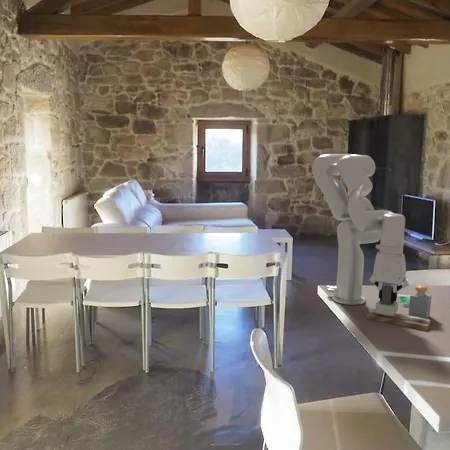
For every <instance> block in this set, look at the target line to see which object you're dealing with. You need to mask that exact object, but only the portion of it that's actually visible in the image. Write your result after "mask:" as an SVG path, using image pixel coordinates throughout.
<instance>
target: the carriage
mask: <svg viewBox="0 0 450 450" xmlns="http://www.w3.org/2000/svg"><path fill="white" fill-rule="evenodd" d="M392 292H393V284H388V283H384V286H383V289H382V302H380V300H378V302H376V304H375V308H374V309H375V313H380V314H385V315H391V316H393V315H394V314H395V313H397V312H398V310H399V302H400V301H397V300H396V301H395V302H394V303H393V304H391V293H392Z"/></svg>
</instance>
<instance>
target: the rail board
mask: <svg viewBox="0 0 450 450" xmlns="http://www.w3.org/2000/svg"><path fill="white" fill-rule="evenodd" d="M375 309H376V308H370V309H369V312H368V313H367V314H366V319H367V320H372V321H378V322H381V323H386V324H392V325H396V326H401V327H402V326H403V327H408V328H413V329H416V330H417V329H418V330H421V331H426V332H427V331H428V330H429V328H430V326H431V325H432V319H429V318H428V319H424V318H419V317H414V316H409V314H408V315H407V314H402V313H397V312H396V313H395V314H394V315H393V316H391V315H385V314H380V313H375Z"/></svg>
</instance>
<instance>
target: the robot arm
mask: <svg viewBox="0 0 450 450" xmlns="http://www.w3.org/2000/svg"><path fill="white" fill-rule="evenodd" d="M375 172H376V163H375V161H374V159H373V158H372V157H371V156H369V155H365V154H363V155H362V154H355V153H354V154H352V153H327V154H326V153H325V154H321V155H319V156H317V157H316V158H315V159H314V161H313V166H312V173H313V177H314V178H313V179H314V180H315V182H316V185H317V186H318V188H319V189H320V191H321V192H322V194H323V195H324V198H325V200H326V203H327V206H328V208H329V210H330V211H331V214H332V216H333V217H334V219H335V220H337V221H341V222H340V223H339V224H337V225H338V226H337V228H336V234H337V235H336V237H337V244H338V246H337V247H338V254H337V255H338V256H337V259H338V260H337V275H336V276H337V278H336V285H335V286H332V285H327V286H326V291H327V293H332V295H331V299H332V301H334V302H335V303H338V304H342V305H349V306H356V305H357V306H358V305H362V304H365V303H366V297H365V296H364V295H362V294H363V293H362V292H363V281H364V280H363V279H364V263H365V256H364V255H365V254H364V251H363V250H362V248H361V246H360V245H362V244H374V243H377V242H379V244H375V249H377V250H379V251H378V252H376V254H375V258H374V259H375V260H374V263H373V264H374V266H373V272H372V275H371V276H370V277H369V281H370V282H371V283H373V284H374V285H375V286H376V288H377V290H378V299H379V301H380V302H382V289H383V286H384V285H385V284H387V285H393V292H392V293H391V304H393V303H394V302H395V301H396V302H397V300H398V298H397V294H398V292H399V291H400V290H401V289H406V288H408V286H409V285H410V283H409V281H408V279H407V277H406V275H407V274H406V257H405V254H403V253H404V252H403V251H404V241H405V240H404V239H405V226H406V217H405V216H404V215H403V214H401V213H395V212H393V211H391V210H389V209H378V210H377V209H376V210H375V209H374V206H373V205H372V202H371V201H370V200H369V199H368V198H367V197H366V196H368V195H369V194H370V193H371V191H372V189H373V188H374V187H373V183H372V181H371V179H370V177H372V176H374V174H375ZM335 176H341V180H342V181H343V182H344V184H345V186H346V187H345V186H344V184H343V183H342V182H341V181H340V180H339V179H338V178H336V177H335ZM347 191H348V192H349V193H350V194H349V193H348V192H347Z"/></svg>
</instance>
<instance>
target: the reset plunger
mask: <svg viewBox="0 0 450 450" xmlns="http://www.w3.org/2000/svg"><path fill="white" fill-rule="evenodd" d="M428 287H429V286H426V285H422V284H416V285H415V288H414V289H415V291H416V292H417V296H422V297H425V293H426V292H428V290H429V289H428Z"/></svg>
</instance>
